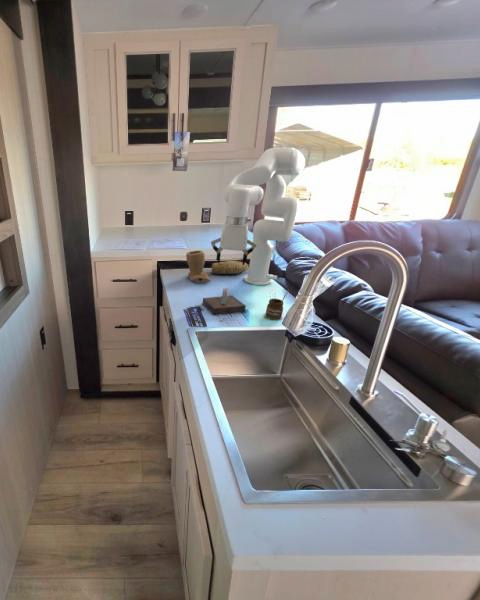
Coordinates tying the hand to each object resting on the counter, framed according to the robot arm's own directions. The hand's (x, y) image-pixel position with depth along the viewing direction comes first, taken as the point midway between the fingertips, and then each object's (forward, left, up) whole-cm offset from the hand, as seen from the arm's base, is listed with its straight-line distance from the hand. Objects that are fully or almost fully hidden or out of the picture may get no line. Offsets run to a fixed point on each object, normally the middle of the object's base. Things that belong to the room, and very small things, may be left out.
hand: (230, 263), depth 129 cm
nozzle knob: (+1, +3, -16) cm, 16 cm away
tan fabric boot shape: (+10, -32, -19) cm, 39 cm away
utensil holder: (-18, +9, -19) cm, 28 cm away
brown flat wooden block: (+1, +3, -19) cm, 19 cm away
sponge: (-9, -45, -19) cm, 50 cm away
